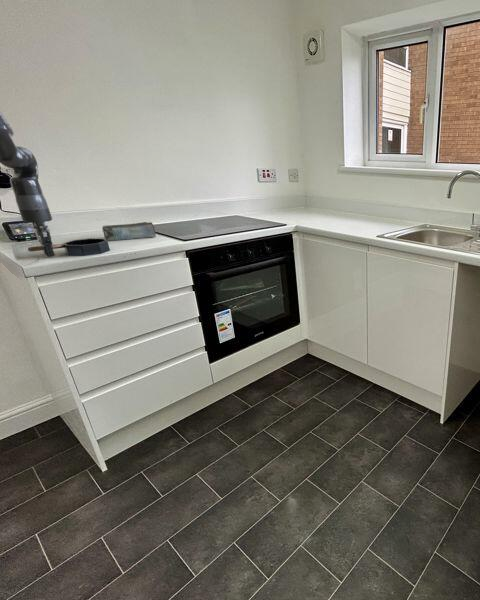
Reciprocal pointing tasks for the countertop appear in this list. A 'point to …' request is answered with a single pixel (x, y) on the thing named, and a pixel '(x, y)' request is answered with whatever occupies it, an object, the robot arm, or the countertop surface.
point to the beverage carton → (129, 231)
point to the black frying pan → (80, 247)
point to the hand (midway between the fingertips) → (50, 255)
